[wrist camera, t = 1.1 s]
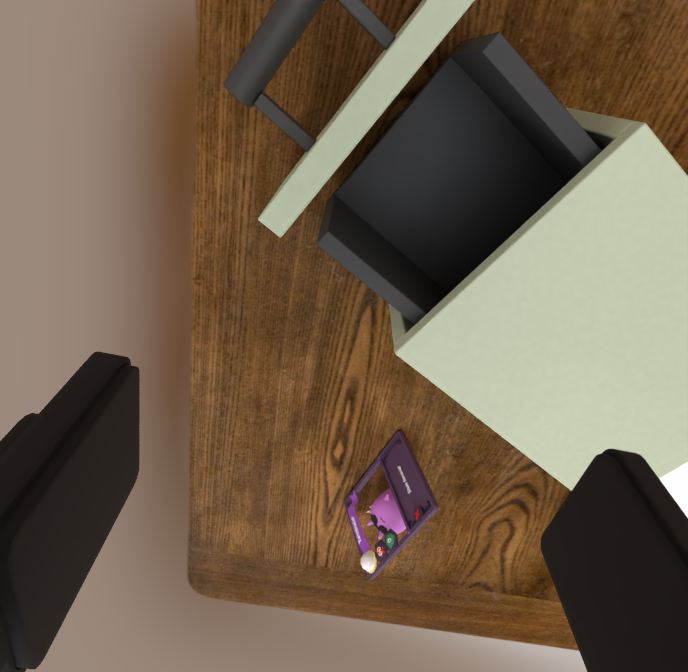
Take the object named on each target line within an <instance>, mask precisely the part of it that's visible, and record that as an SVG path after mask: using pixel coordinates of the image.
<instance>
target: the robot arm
mask: <svg viewBox="0 0 688 672" xmlns="http://www.w3.org/2000/svg"><path fill="white" fill-rule="evenodd" d="M138 472H139V369H138V367H135V366H131V362H130V359H129V358H128V357H124V356H119V355H113V354H108V353H102V352H95V353H93V354H92V355H91V356H90V357H89V359H88V360H87V361H86V362H85V363H84V364H83V365H82V366H81V367H80V368H79V370H78V371H77V372H76V373H75V374H74V375H73V376H72V377H71V379H70V380H69V381H68V382H67V383H66V384H65V385H64V386H63V387H62V389H61V390H60V391H59V392H58V393H57V394H56V395H55V396H54V398H53V399H52V400H51V401H50V402H49V403H48V404H47V405H46V406H45V408H44V409H43V410H42V411H41V412H40V413H39V414H35V413H31V414H29V415H26V416H25V417H24V418H23V419H21V420H20V421H19V422H18V423H17V424H16V425H15V426H14V427H13V428H12V430H11V431H10V432H9V433H8V434H7V435H6V436H5V437H4V438H3V439H2V440H1V441H0V672H25V671H26V669H36V668H37V667H38V666H39V665H40V664H41V662H42V661H43V659H44V657H45V655H46V654H47V652H48V649H49V648H50V646H51V644H52V642H53V640H54V638H55V636H56V634H57V633H58V631H59V629H60V627H61V625H62V623H63V621H64V619H65V617H66V615H67V613H68V611H69V609H70V608H71V606H72V604H73V602H74V600H75V598H76V596H77V594H78V592H79V590H80V588H81V586H82V584H83V582H84V581H85V579H86V577H87V575H88V572H89V571H90V569H91V567H92V565H93V563H94V561H95V559H96V557H97V556H98V554H99V552H100V550H101V548H102V546H103V544H104V542H105V540H106V538H107V536H108V534H109V532H110V531H111V529H112V527H113V525H114V523H115V521H116V519H117V517H118V515H119V513H120V511H121V509H122V507H123V506H124V504H125V501H126V500H127V498H128V496H129V494H130V492H131V490H132V488H133V486H134V484H135V481H136V479H137V476H138ZM541 550H542V554H543V556H544V559H545V562H546V564H547V567H548V569H549V572H550V575H551V577H552V580H553V583H554V585H555V588H556V590H557V593H558V596H559V598H560V601H561V604H562V606H563V609H564V611H565V614H566V617H567V619H568V622H569V624H570V627H571V630H572V632H573V635H574V638H575V640H576V643H577V645H578V648H579V651H580V653H581V656H582V659H583V661H584V664H585V666H586V669H587V672H688V518H687V516H686V515H685V514H684V512H683V511H682V509H681V508H680V507H679V505H678V504H677V503H676V501H675V500H674V498H673V497H672V496H671V494H670V493H669V492H668V490H667V489H666V487H665V486H664V485H663V483H662V482H661V481H660V479H659V478H658V476H657V475H656V474H655V472H654V471H653V470H652V468H651V467H650V466H649V464H648V463H647V461H646V460H645V459H644V458H643V457H642V456H641V455H639V454H637V453H633V452H628V451H623V450H617V449H607V450H605V451H604V452H603V453H602V454H598V455H596V456H595V457H594V459H593V460H592V462H591V463H590V465H589V466H588V468H587V469H586V470H585V472H584V473H583V475H582V476H581V478H580V479H579V481H578V482H577V484H576V485H575V487H574V488H573V490H572V491H571V493H570V494H569V496H568V497H567V499H566V500H565V502H564V503H563V505H562V506H561V508H560V509H559V511H558V512H557V514H556V515H555V517H554V518H553V520H552V521H551V523H550V524H549V525H548V527H547V528H546V530H545V531H544V533H543V535H542V538H541Z"/></svg>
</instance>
